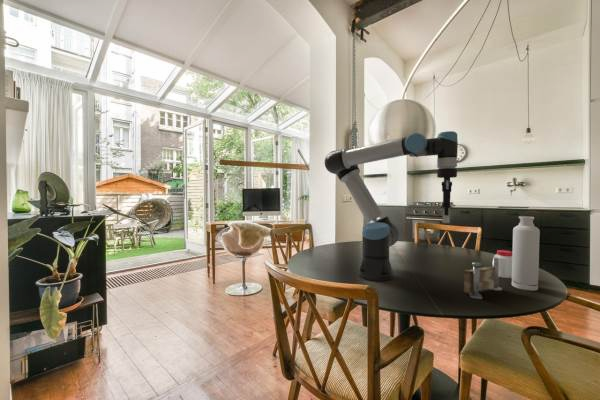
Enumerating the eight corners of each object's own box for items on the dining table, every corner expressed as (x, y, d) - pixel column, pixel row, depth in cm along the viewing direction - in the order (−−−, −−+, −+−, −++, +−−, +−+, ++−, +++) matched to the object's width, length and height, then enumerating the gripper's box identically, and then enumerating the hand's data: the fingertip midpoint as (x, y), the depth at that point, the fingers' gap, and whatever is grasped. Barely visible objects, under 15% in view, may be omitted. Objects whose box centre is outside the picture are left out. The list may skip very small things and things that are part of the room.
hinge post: (489, 289, 104) (489, 259, 104) (487, 286, 108) (487, 256, 108) (503, 291, 102) (503, 260, 102) (500, 287, 106) (501, 257, 106)
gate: (489, 285, 106) (489, 265, 106) (495, 287, 104) (495, 267, 104) (463, 291, 100) (463, 269, 100) (469, 293, 98) (469, 271, 98)
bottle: (538, 292, 102) (541, 218, 101) (511, 287, 107) (513, 217, 106) (536, 286, 108) (539, 216, 107) (511, 281, 113) (513, 215, 112)
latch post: (470, 297, 97) (471, 263, 97) (469, 294, 100) (469, 261, 100) (482, 299, 95) (483, 264, 95) (480, 295, 99) (481, 262, 98)
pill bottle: (507, 273, 125) (508, 249, 125) (519, 278, 118) (519, 253, 117) (489, 272, 126) (490, 249, 126) (500, 278, 119) (500, 253, 118)
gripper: (458, 166, 109) (457, 224, 110) (455, 169, 121) (454, 221, 122) (437, 167, 112) (436, 223, 113) (437, 169, 124) (436, 220, 125)
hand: (446, 222), depth 117 cm, fingers closed
